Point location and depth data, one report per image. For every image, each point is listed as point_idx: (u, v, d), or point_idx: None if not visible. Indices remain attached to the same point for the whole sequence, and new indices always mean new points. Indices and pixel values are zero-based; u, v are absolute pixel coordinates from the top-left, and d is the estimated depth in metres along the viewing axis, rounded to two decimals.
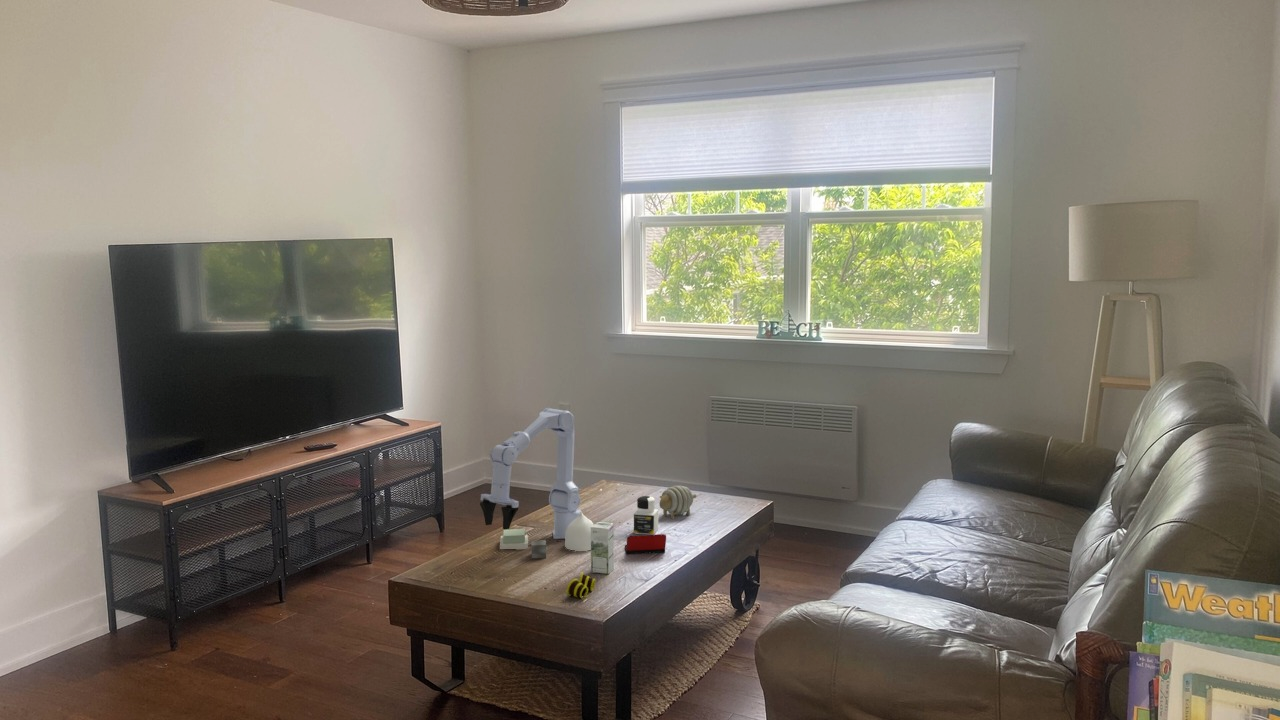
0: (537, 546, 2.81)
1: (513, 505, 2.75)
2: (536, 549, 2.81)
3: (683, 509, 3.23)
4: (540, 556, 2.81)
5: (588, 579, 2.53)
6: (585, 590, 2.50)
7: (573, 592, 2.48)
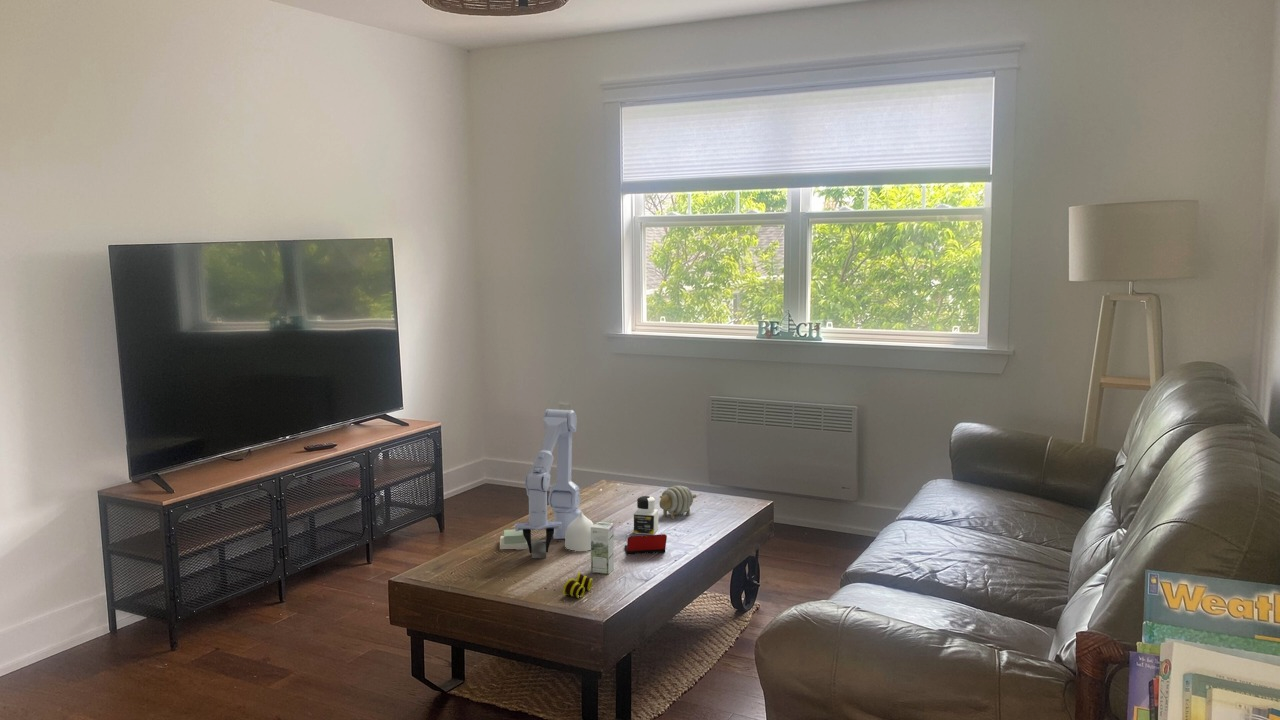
0: (537, 546, 2.81)
1: (560, 527, 2.82)
2: (536, 548, 2.81)
3: (683, 509, 3.23)
4: (540, 556, 2.81)
5: (585, 579, 2.54)
6: (582, 590, 2.50)
7: (569, 591, 2.48)
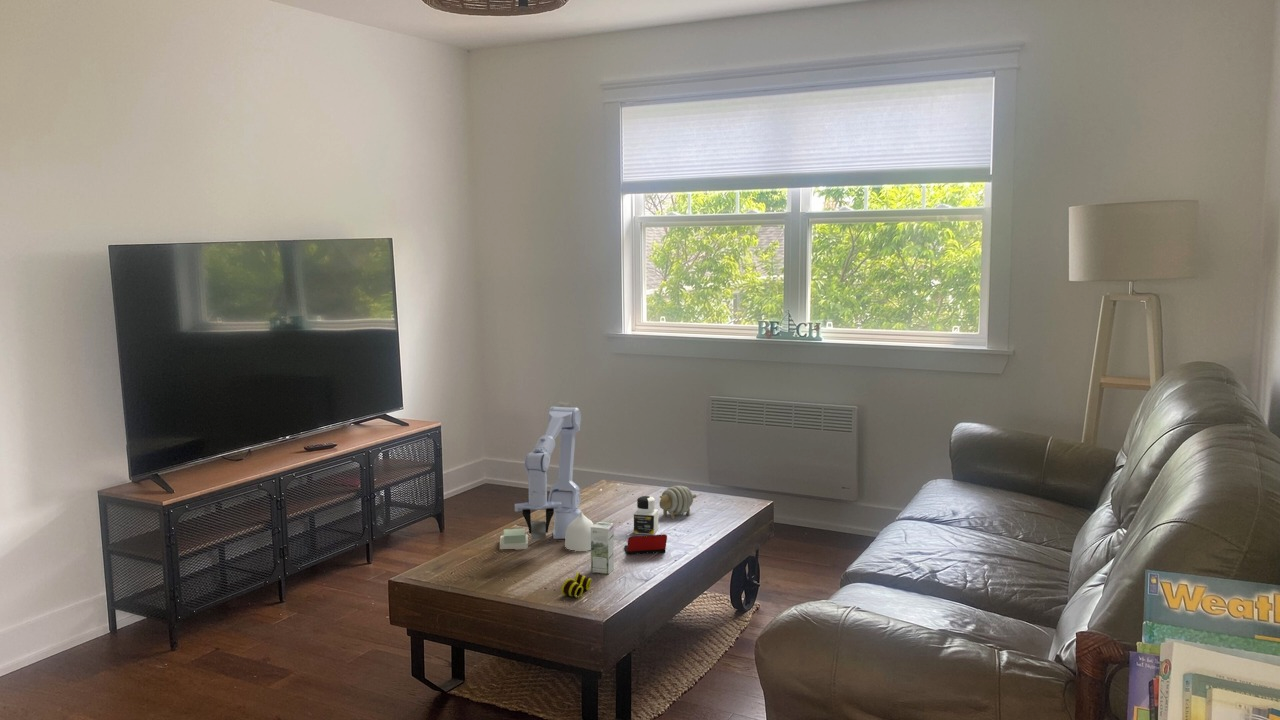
0: (537, 526, 2.80)
1: (560, 507, 2.81)
2: (536, 529, 2.80)
3: (683, 509, 3.23)
4: (540, 536, 2.80)
5: (584, 579, 2.54)
6: (580, 589, 2.50)
7: (567, 591, 2.49)
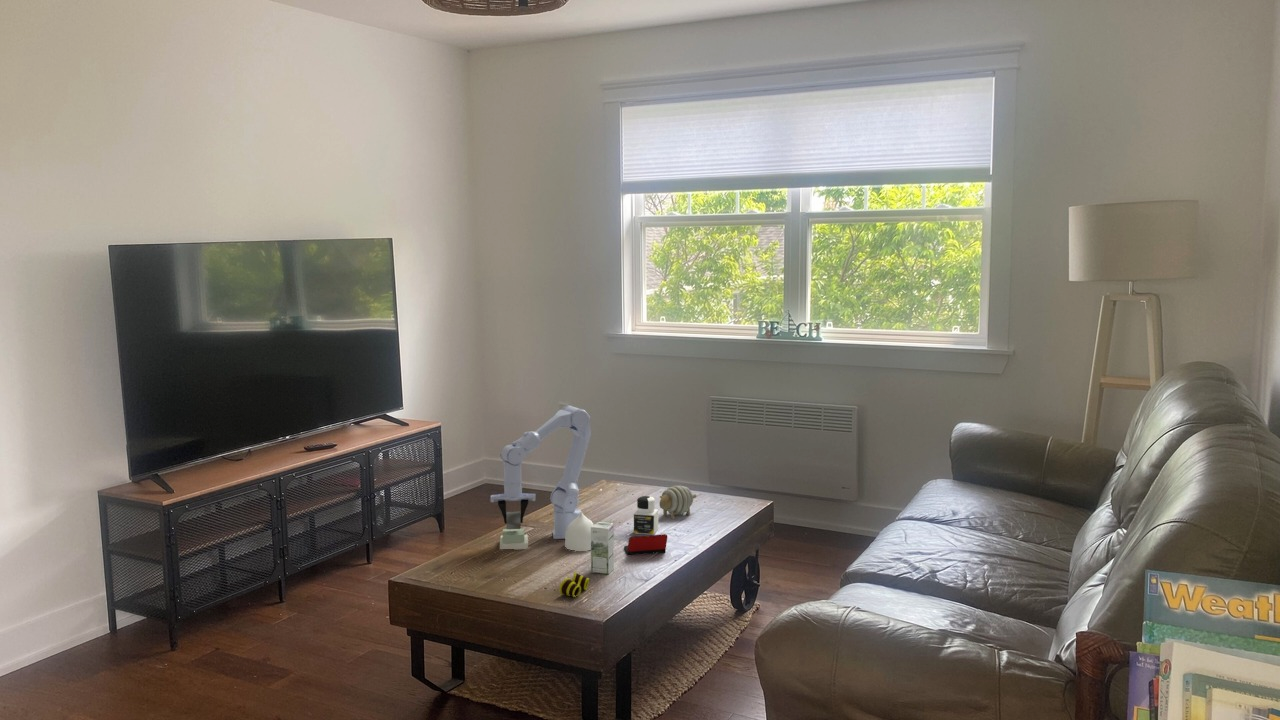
0: (512, 517, 2.91)
1: (534, 498, 2.92)
2: (511, 519, 2.91)
3: (683, 509, 3.23)
4: (515, 526, 2.91)
5: (581, 578, 2.54)
6: (578, 589, 2.51)
7: (565, 591, 2.49)
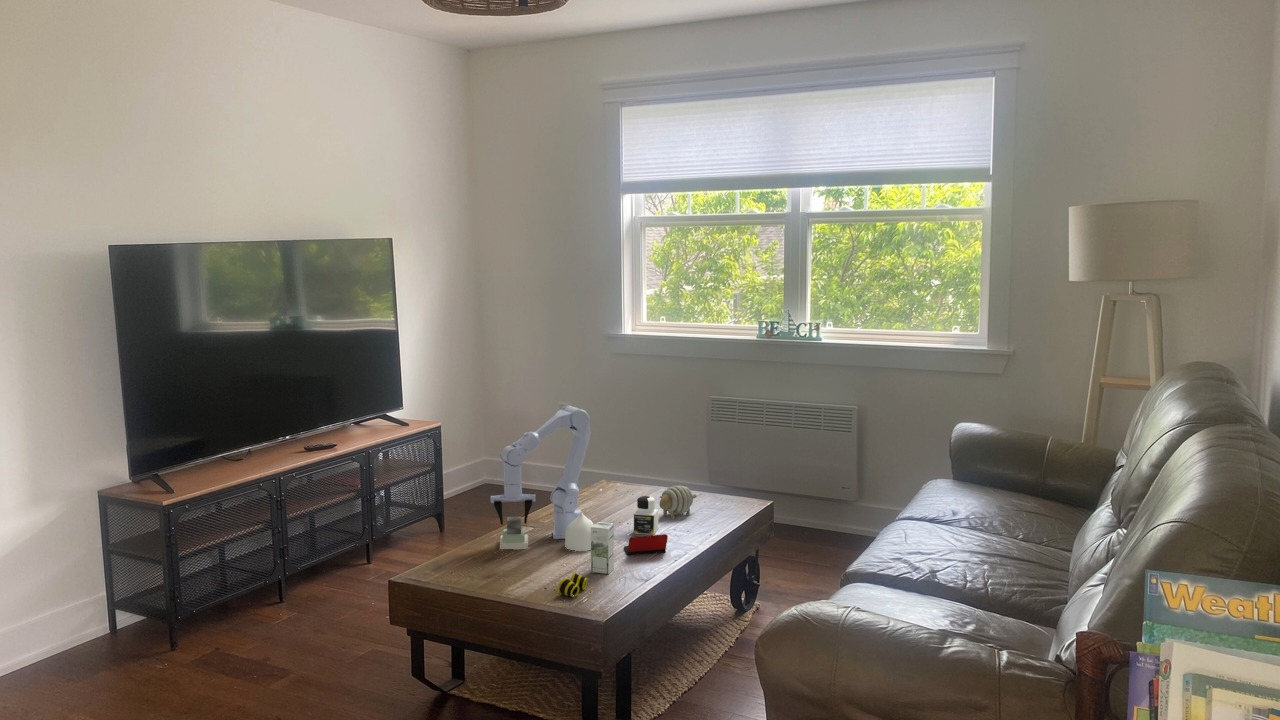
0: (512, 522, 2.91)
1: (534, 499, 2.92)
2: (511, 524, 2.91)
3: (683, 509, 3.23)
4: (515, 531, 2.91)
5: (580, 578, 2.54)
6: (576, 589, 2.51)
7: (564, 590, 2.49)
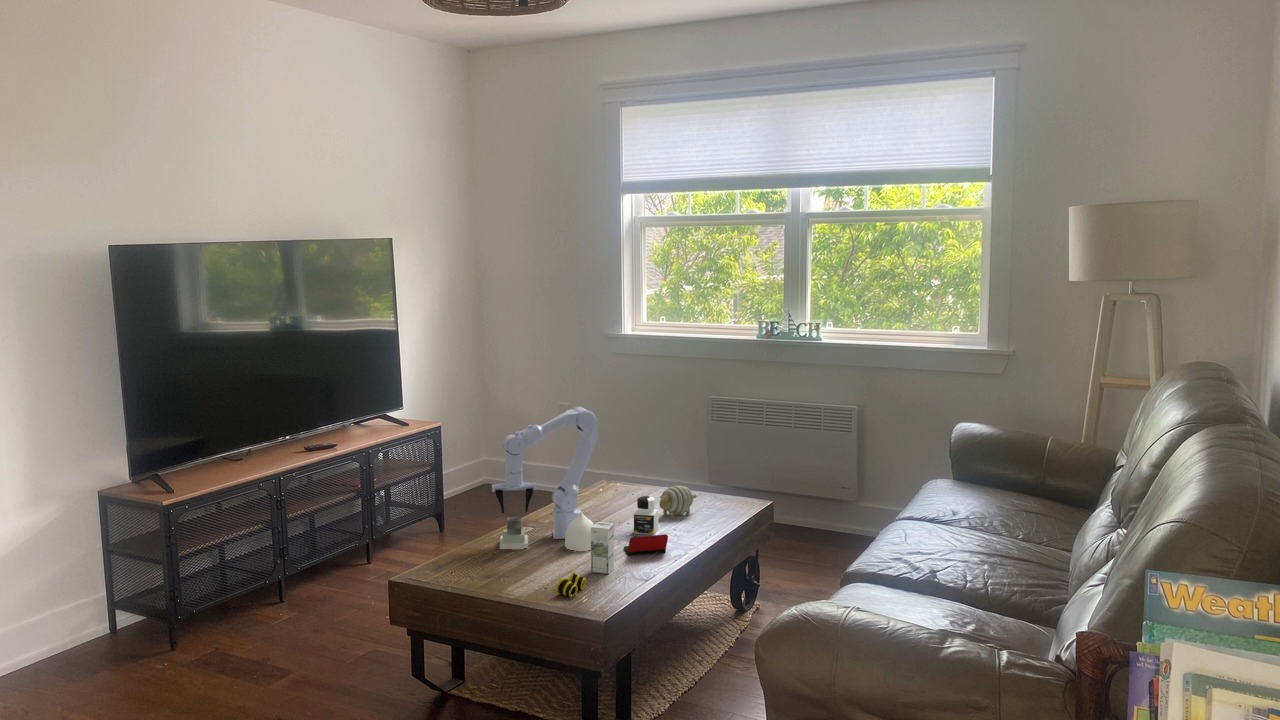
0: (512, 522, 2.91)
1: (535, 487, 2.95)
2: (511, 525, 2.91)
3: (683, 509, 3.23)
4: (515, 532, 2.92)
5: (578, 578, 2.54)
6: (575, 589, 2.51)
7: (562, 590, 2.49)
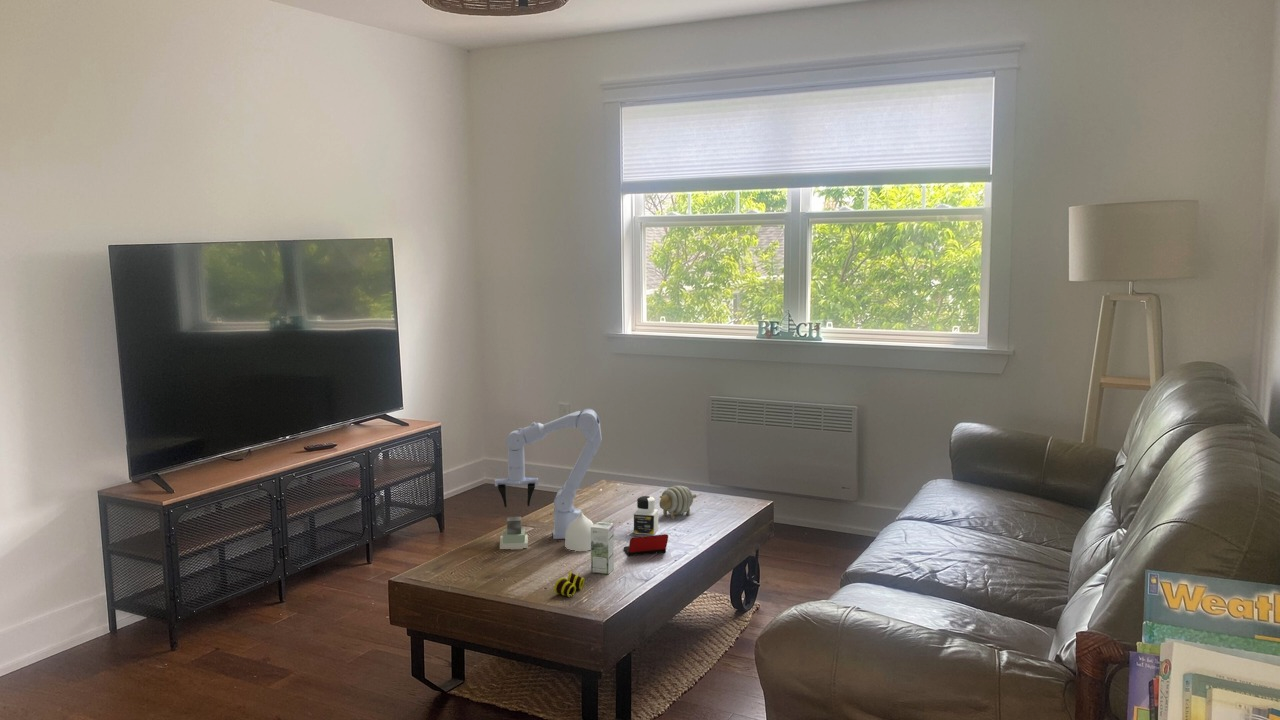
0: (512, 522, 2.91)
1: (537, 482, 3.02)
2: (511, 524, 2.91)
3: (683, 509, 3.23)
4: (515, 531, 2.92)
5: (577, 578, 2.54)
6: (573, 589, 2.51)
7: (560, 590, 2.49)
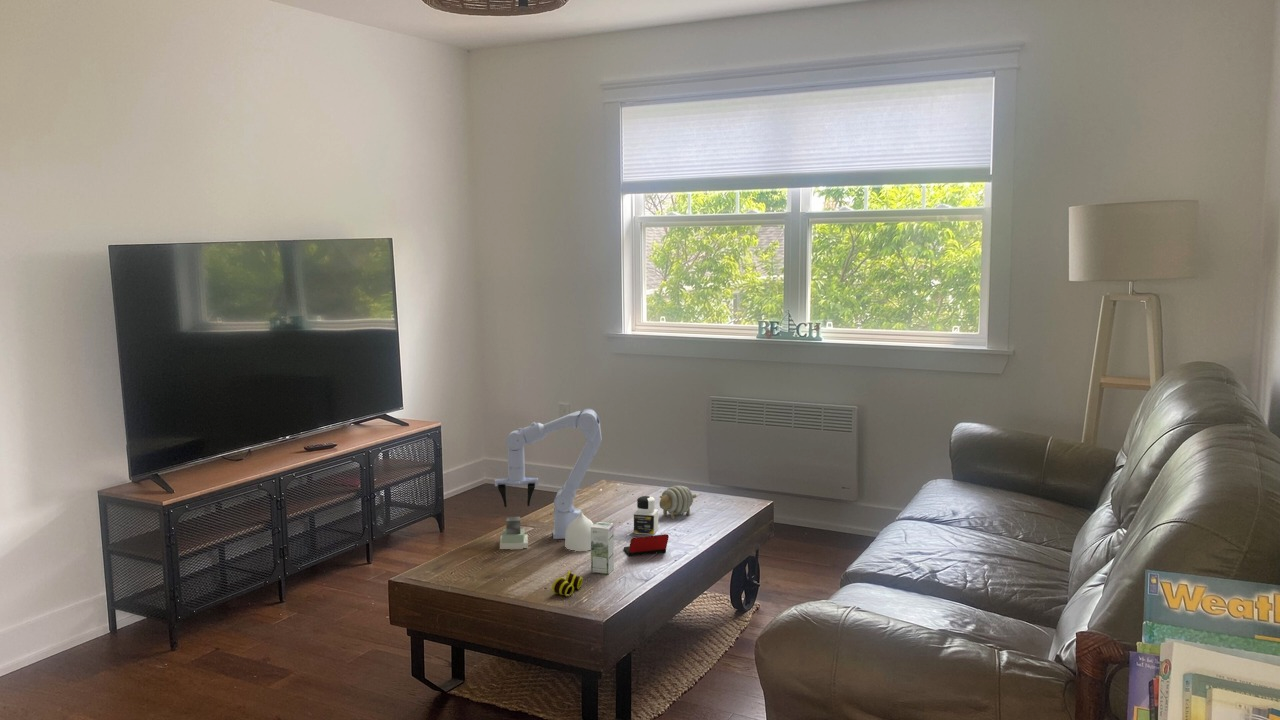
0: (512, 522, 2.91)
1: (537, 482, 3.02)
2: (511, 524, 2.91)
3: (683, 509, 3.23)
4: (515, 531, 2.92)
5: (575, 577, 2.55)
6: (571, 588, 2.51)
7: (558, 590, 2.50)
